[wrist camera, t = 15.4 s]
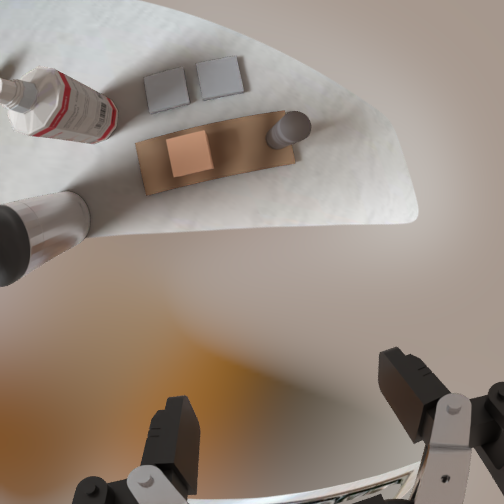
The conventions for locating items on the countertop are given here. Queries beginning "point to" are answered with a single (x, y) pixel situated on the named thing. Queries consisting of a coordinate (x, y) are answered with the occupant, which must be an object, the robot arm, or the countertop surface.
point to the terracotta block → (189, 153)
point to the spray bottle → (57, 107)
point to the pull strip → (227, 149)
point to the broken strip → (210, 77)
